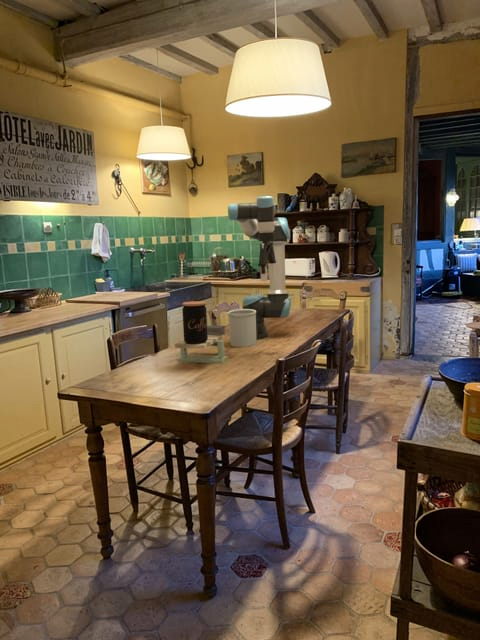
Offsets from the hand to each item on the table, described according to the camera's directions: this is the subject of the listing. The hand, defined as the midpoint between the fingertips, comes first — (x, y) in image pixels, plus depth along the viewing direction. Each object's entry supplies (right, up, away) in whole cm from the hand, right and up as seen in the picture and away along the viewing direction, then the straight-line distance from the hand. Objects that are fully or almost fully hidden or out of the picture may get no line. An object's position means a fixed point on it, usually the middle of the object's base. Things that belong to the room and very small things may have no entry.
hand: (268, 279), depth 225 cm
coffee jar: (-33, -29, -1) cm, 44 cm away
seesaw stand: (-30, -37, +8) cm, 49 cm away
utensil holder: (-11, -31, +35) cm, 48 cm away
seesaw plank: (-31, -31, +7) cm, 44 cm away
